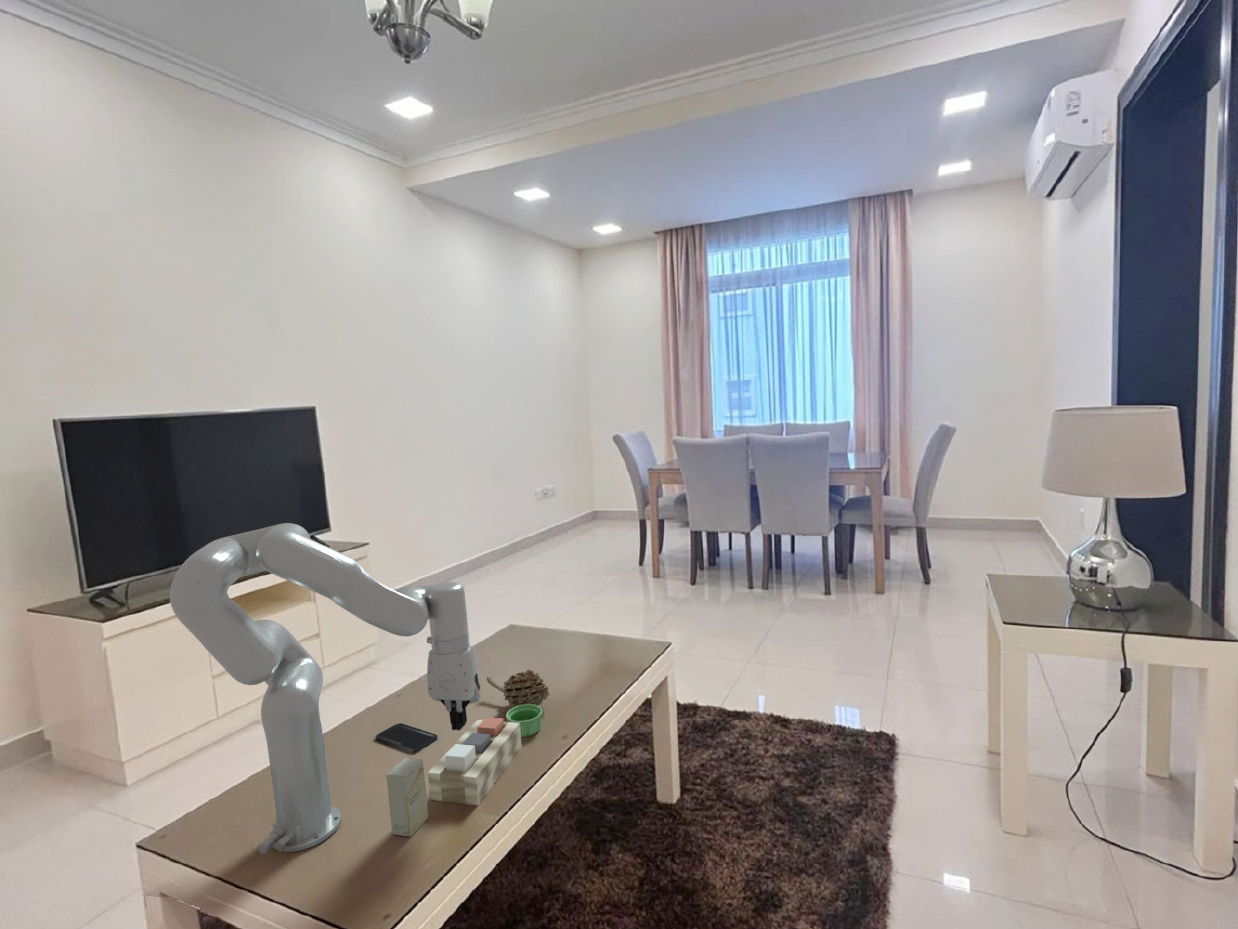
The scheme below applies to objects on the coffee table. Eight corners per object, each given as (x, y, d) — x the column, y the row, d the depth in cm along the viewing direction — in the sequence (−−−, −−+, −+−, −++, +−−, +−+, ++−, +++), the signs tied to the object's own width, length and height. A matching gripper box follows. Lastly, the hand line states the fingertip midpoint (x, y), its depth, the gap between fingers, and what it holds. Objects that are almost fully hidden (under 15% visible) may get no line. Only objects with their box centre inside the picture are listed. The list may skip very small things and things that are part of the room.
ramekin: (521, 742, 152) (519, 725, 151) (500, 730, 158) (498, 713, 158) (550, 728, 158) (549, 711, 157) (529, 716, 164) (528, 700, 164)
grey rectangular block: (482, 769, 137) (480, 745, 137) (464, 767, 139) (462, 743, 138) (491, 757, 142) (490, 734, 141) (473, 755, 143) (471, 732, 142)
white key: (466, 782, 131) (464, 757, 130) (447, 780, 132) (444, 755, 131) (476, 770, 135) (474, 745, 134) (458, 768, 136) (455, 743, 136)
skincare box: (410, 838, 120) (404, 777, 119) (390, 834, 121) (384, 775, 120) (429, 816, 126) (424, 759, 125) (410, 813, 127) (404, 756, 126)
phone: (398, 722, 164) (439, 735, 156) (399, 726, 164) (439, 739, 156) (373, 737, 157) (413, 751, 149) (373, 741, 157) (414, 755, 149)
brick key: (496, 751, 144) (494, 728, 144) (479, 749, 145) (477, 727, 145) (505, 741, 149) (503, 718, 148) (487, 739, 150) (485, 717, 149)
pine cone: (558, 703, 170) (556, 668, 169) (538, 720, 162) (535, 683, 161) (495, 689, 181) (492, 656, 180) (472, 704, 173) (469, 670, 172)
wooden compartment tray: (478, 805, 128) (475, 777, 128) (430, 799, 131) (427, 772, 131) (521, 747, 150) (519, 722, 149) (479, 743, 152) (477, 719, 152)
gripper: (408, 648, 129) (417, 734, 131) (474, 651, 125) (483, 739, 127) (428, 635, 136) (437, 716, 138) (491, 637, 132) (499, 720, 134)
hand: (459, 726), depth 132 cm, fingers closed
